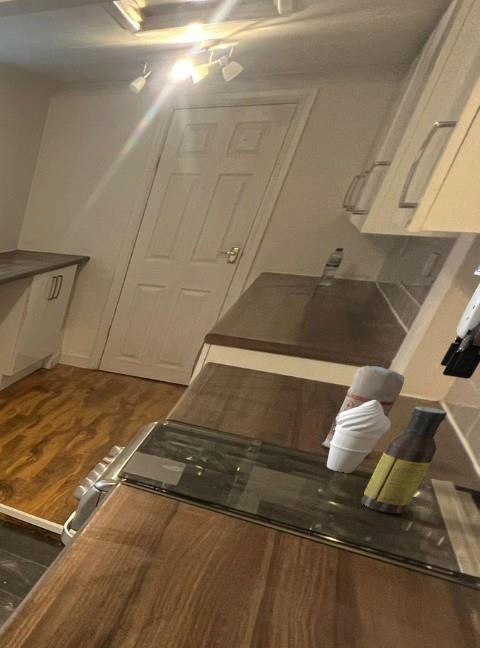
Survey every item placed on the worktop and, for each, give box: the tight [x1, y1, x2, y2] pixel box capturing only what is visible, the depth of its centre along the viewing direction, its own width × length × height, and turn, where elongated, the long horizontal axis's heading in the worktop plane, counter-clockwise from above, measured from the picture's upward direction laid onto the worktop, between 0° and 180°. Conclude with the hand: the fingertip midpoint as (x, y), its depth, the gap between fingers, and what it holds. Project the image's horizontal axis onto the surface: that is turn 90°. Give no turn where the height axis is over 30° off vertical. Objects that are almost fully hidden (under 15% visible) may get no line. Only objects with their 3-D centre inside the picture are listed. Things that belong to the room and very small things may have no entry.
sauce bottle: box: [361, 406, 448, 514], centre depth 108 cm, size 6×6×20 cm
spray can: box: [321, 365, 405, 449], centre depth 134 cm, size 8×8×20 cm
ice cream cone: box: [326, 400, 392, 474], centre depth 124 cm, size 8×8×16 cm
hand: (454, 371), depth 100 cm, fingers open, 9 cm apart
